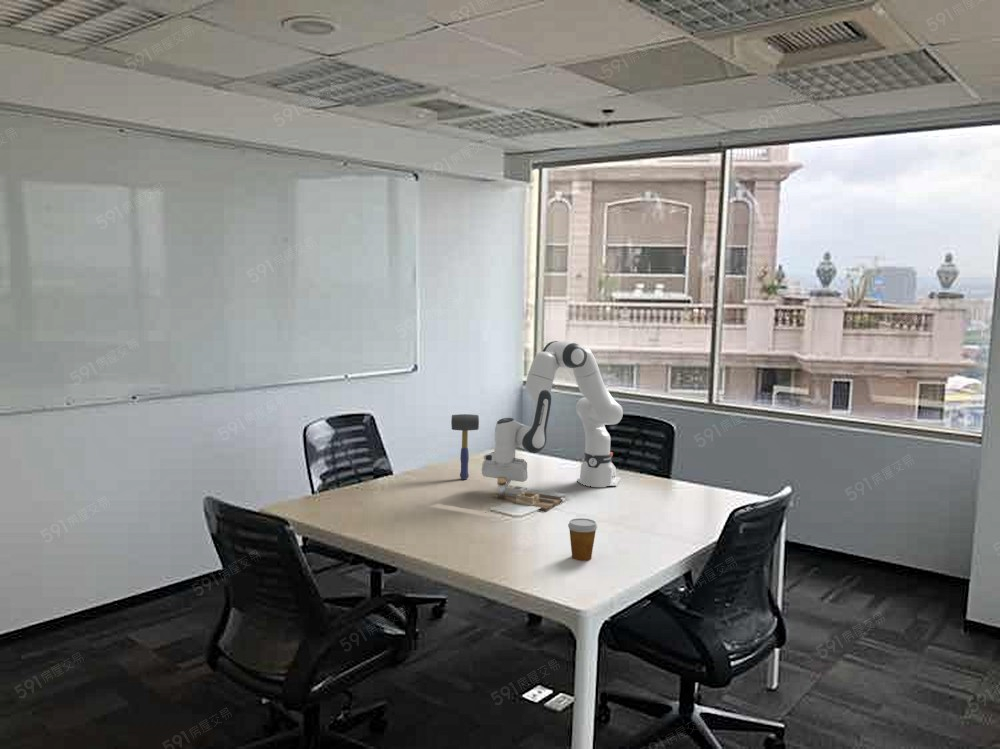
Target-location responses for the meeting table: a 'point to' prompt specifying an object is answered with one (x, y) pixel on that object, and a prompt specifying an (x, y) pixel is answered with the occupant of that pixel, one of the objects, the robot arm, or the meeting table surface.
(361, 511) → the meeting table surface
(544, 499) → the board
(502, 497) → the grey and tan cylinder
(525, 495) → the socket
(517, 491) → the block
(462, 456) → the rubber mallet
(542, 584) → the meeting table surface
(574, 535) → the disposable coffee cup
